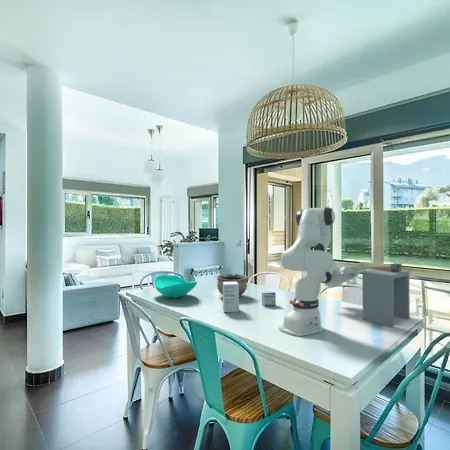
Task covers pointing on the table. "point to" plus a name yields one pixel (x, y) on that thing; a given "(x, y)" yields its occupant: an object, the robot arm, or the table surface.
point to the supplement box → (230, 297)
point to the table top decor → (173, 285)
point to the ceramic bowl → (231, 278)
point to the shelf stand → (385, 296)
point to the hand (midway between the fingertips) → (365, 264)
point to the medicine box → (268, 299)
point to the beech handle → (382, 266)
